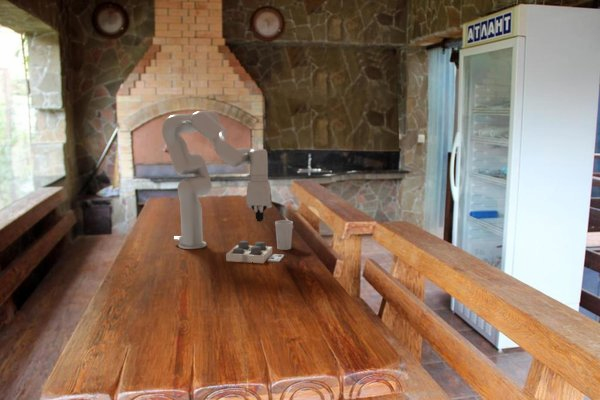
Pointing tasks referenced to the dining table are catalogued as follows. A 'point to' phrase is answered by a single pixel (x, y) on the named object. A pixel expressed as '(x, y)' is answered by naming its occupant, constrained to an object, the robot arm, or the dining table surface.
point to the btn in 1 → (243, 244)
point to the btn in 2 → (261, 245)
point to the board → (249, 255)
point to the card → (275, 258)
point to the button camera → (255, 250)
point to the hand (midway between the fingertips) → (259, 220)
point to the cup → (284, 234)
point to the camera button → (238, 251)
